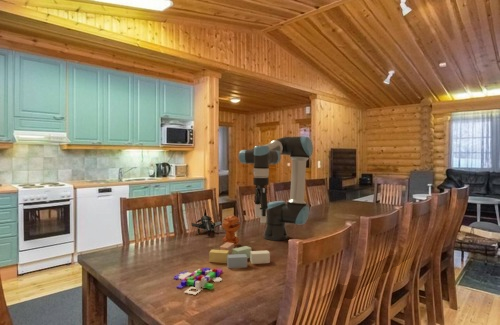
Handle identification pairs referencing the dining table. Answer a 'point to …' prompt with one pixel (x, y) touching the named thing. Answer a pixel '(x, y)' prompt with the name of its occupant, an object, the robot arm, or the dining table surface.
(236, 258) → the slate brick
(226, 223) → the orange lumpy upright piece
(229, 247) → the terracotta brick
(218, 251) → the ochre brick
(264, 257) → the cream brick
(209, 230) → the airplane toy
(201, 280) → the building block set
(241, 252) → the sage brick
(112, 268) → the dining table surface
